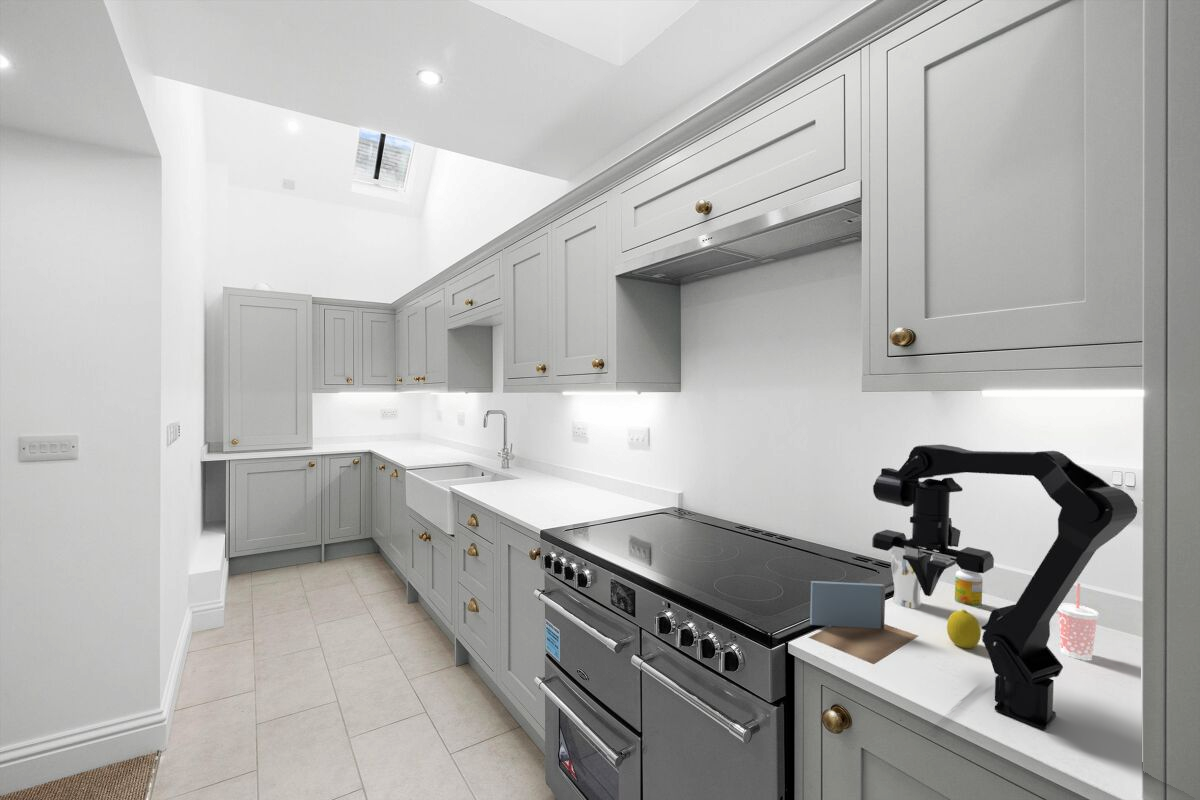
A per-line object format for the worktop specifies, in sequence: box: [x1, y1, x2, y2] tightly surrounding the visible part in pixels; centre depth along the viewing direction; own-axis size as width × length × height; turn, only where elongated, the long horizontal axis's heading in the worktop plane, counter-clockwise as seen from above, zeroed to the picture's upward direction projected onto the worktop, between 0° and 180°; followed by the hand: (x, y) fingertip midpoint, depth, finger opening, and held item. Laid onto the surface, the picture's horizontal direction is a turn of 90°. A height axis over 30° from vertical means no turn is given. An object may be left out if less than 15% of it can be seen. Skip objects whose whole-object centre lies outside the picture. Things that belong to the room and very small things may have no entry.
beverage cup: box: [1057, 582, 1100, 661], centre depth 106 cm, size 6×6×14 cm
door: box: [809, 580, 886, 629], centre depth 115 cm, size 2×15×9 cm, turn 85°
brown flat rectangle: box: [808, 623, 919, 665], centre depth 110 cm, size 13×19×1 cm
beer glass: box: [890, 546, 923, 609], centre depth 128 cm, size 7×7×15 cm
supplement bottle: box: [954, 566, 984, 609], centre depth 130 cm, size 5×5×10 cm
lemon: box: [946, 609, 982, 649], centre depth 107 cm, size 6×6×8 cm
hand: (928, 595), depth 101 cm, fingers closed
